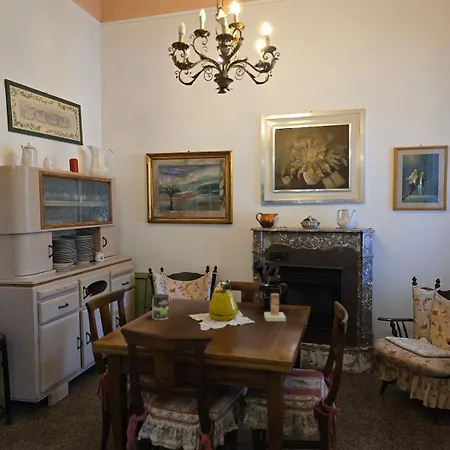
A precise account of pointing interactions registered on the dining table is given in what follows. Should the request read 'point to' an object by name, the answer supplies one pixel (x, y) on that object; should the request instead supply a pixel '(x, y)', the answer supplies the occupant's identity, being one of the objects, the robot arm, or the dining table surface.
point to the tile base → (274, 317)
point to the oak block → (274, 304)
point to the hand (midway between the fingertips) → (273, 297)
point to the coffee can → (160, 306)
